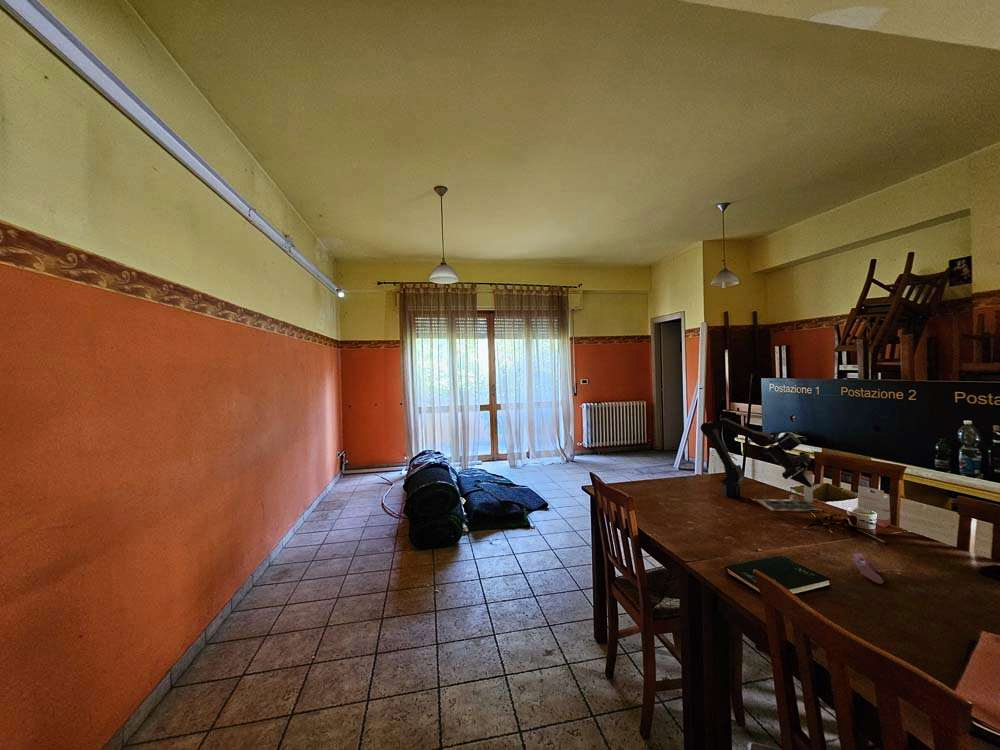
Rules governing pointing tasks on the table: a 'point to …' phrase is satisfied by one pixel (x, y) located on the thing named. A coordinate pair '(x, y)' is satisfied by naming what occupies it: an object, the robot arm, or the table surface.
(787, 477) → the robot arm
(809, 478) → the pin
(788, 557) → the table surface
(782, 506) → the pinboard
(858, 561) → the pink rounded piece
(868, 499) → the ink cartridge box
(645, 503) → the table surface
